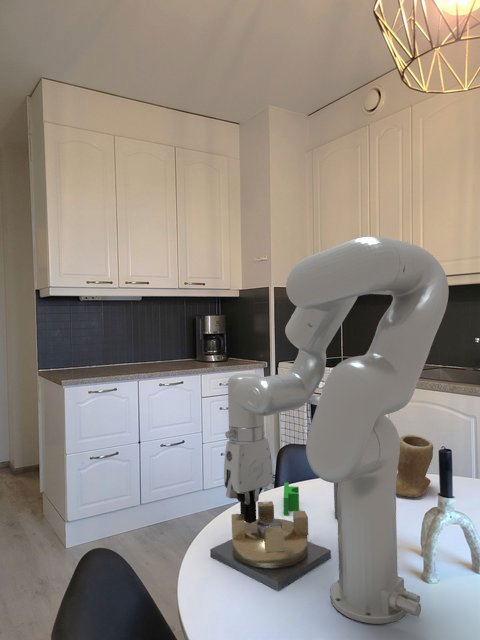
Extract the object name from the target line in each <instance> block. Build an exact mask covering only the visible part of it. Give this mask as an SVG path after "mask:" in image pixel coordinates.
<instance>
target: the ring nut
mask: <svg viewBox="0 0 480 640" xmlns="http://www.w3.org/2000/svg"><path fill="white" fill-rule="evenodd" d="M292 517H293V518H292V519H293V520H292V521H291V520H289V519H288V520H287V519H283V518H275V504H274V503H273V501H270V500H269V501H257V518H256V521H255V522H252V523H248V522H245V521H244V515H243V514H241V513H232V514H231V537H232V546H233V554H234V556H235V557H236V558H237V559H238V560H240V561H241V562H243V563H245V564H248V565H251V566H255V567H261V568H281V567H286V566H290V565H293V564H296V563H298V562H300V561H301V560H303V559H304V558H305V557H306V555H307V552H308V542H309V541H308V536H309V517H308V515H307V512H306V511H305V510H299V511H292Z"/></svg>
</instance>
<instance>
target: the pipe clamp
mask: <svg viewBox="0 0 480 640" xmlns="http://www.w3.org/2000/svg"><path fill="white" fill-rule="evenodd" d="M283 483H284V484H283V485H284V486H283V516H284V517H289V516H290V515H289V513H290V512H293V511H300V492H299V489H300V488H299V486H290V484H289V482H283Z"/></svg>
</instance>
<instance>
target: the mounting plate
mask: <svg viewBox="0 0 480 640" xmlns="http://www.w3.org/2000/svg"><path fill="white" fill-rule="evenodd" d="M209 551H210V552H209V553H210V556H209V557H210V558H212V559H214V560H216V561H218V562H220V563H222V564H224V565H226V566H228V567H230V568H232V569H234V570H236V571H237V572H239V573H242V574H243V575H245V576H247V577H249V578H252V579H254V580H255V581H258V582H259V583H261V584H263V585H265V586H267V587H269V588H272V589H274V590H275V591H277V592H279V591H280V590H282V589H284V588H285V587H288V586H289V585H290V584H291V583H294V582H295V581H297V580H298V579H300V578H301V577H304V575H307V574H308V573H309V572H311V571H313V570H314V569H316V568H317V567H319V566H321V565H322V564H324V563H325V562H327V561H328V560H330V559H331V558H332V555H331V554H332V552H331V551H332V550H331V549H328V548H325V547H323V546H320V545H319V544H317V543H316V544H315V543H314V542H311V541H308V552H307V555H306V557H305V558H304V559H303V560H301V561H300V562H298V563H296V564H293V565H290V566H286V567H281V568H261V567H255V566H251V565H248V564H245V563H243V562H241V561H240V560H238V559H237V558H236V557H235V556H234V554H233V546H232V539H229V540H227V541H225V542H223V543H221V544H219V545H216V546H214V547H212V548H209Z"/></svg>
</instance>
